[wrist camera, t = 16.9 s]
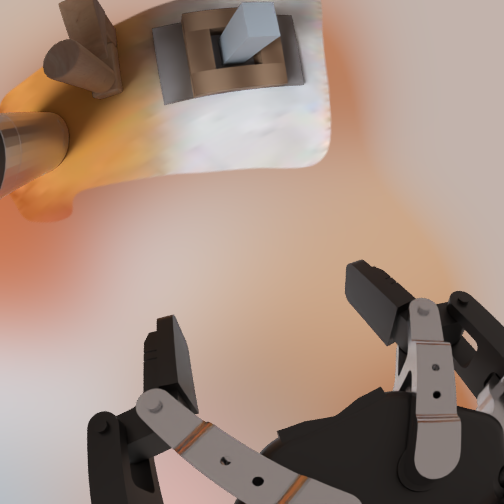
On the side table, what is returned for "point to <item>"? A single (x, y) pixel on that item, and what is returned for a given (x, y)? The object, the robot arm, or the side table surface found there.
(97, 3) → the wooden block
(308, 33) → the side table surface
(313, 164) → the side table surface
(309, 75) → the side table surface
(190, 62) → the wooden socket base
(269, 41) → the rectangular block
